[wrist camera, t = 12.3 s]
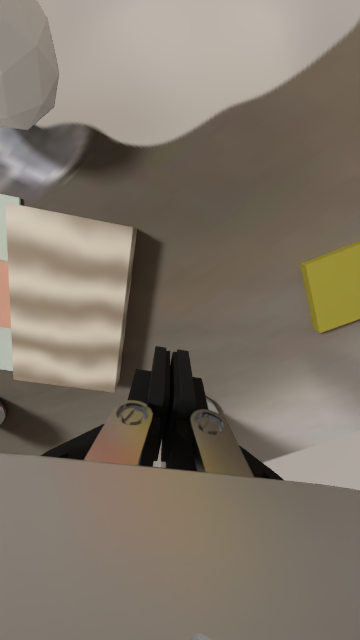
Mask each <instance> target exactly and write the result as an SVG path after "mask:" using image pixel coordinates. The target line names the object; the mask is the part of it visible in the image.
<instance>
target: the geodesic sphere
mask: <svg viewBox="0 0 360 640" xmlns="http://www.w3.org/2000/svg"><path fill="white" fill-rule="evenodd" d="M58 77H59V72H58V65H57V60H56V55H55V50H54V46H53V41H52V37H51V32H50V27H49V23H48V18H47V16H46V15H45V13H44V11H43V10H42V8H41V6H40V5H39V3H38V1H37V0H0V127H7V128H15V129H24V130H28V129H30V128H31V127H32V126H33V125H34V124H35V123H36V122H38V121H39V120H40V119H41V118H42V117H43V116H44V115H46V113H48V112H49V111H50V110H51V109H52V108H54V104H55V97H56V90H57V84H58Z"/></svg>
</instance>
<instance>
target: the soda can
mask: <svg viewBox="0 0 360 640" xmlns="http://www.w3.org/2000/svg"><path fill="white" fill-rule="evenodd" d="M5 418H6V409H5V407H4V405H3V404H2V403H1V402H0V424H1V423H2V422H3V421H4V419H5Z"/></svg>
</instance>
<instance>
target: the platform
mask: <svg viewBox="0 0 360 640" xmlns="http://www.w3.org/2000/svg"><path fill="white" fill-rule="evenodd" d="M5 208H6V229H7V251H8V272H9V294H10V315H11V337H12V358H13V379H14V380H22V381H29V382H37V383H45V384H53V385H60V386H68V387H76V388H84V389H91V390H99V391H107V392H115V390H116V387H117V384H118V381H119V378H120V370H121V361H122V353H123V344H124V336H125V327H126V319H127V310H128V302H129V293H130V285H131V277H132V268H133V260H134V251H135V243H136V234H137V229H136V228H133V227H128V226H123V225H118V224H113V223H108V222H102V221H97V220H92V219H87V218H82V217H77V216H72V215H67V214H62V213H57V212H52V211H47V210H41V209H36V208H31V207H26V206H21V205H16V204H11V203H6V202H5Z"/></svg>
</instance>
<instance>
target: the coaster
mask: <svg viewBox="0 0 360 640" xmlns="http://www.w3.org/2000/svg"><path fill="white" fill-rule="evenodd" d="M0 327H4V328H11V315H10V294H9V272H8V261H6V260H0Z"/></svg>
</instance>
